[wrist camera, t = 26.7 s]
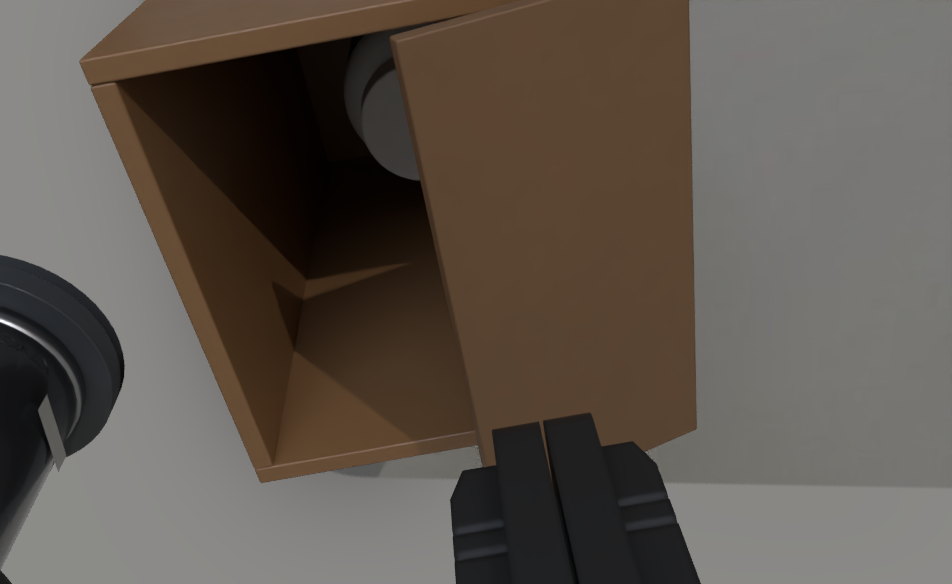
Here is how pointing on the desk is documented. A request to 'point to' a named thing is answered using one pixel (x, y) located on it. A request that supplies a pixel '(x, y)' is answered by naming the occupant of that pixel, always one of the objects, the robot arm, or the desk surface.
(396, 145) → the pill bottle
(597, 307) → the hatch
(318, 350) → the open wooden box
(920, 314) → the desk surface
